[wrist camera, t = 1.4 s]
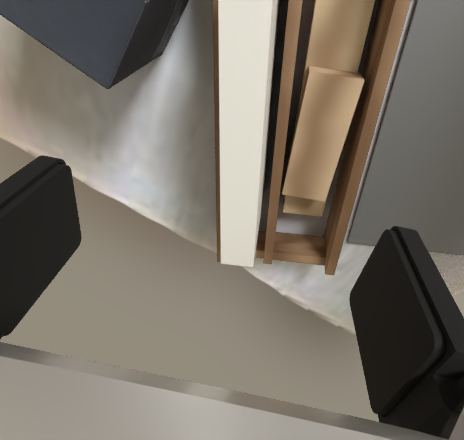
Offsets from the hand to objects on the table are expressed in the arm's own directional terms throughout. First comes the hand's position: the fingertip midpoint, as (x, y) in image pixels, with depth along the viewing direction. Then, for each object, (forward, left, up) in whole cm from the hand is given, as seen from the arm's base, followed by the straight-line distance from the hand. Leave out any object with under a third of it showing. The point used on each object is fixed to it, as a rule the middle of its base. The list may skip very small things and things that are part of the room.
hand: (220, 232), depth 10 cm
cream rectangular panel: (+1, +4, -27) cm, 27 cm away
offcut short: (-5, +6, -24) cm, 26 cm away
